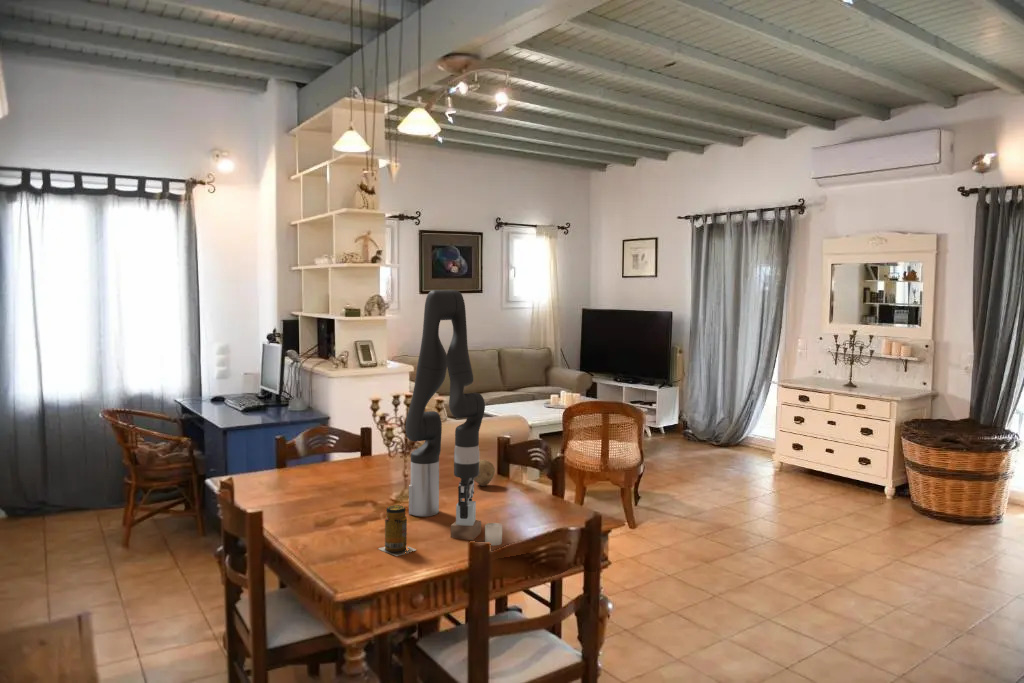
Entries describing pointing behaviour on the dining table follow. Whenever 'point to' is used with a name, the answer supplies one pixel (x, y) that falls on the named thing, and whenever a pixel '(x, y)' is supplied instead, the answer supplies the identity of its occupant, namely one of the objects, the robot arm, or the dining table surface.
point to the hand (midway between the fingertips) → (466, 514)
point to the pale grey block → (471, 514)
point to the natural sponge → (485, 472)
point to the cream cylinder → (493, 533)
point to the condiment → (396, 531)
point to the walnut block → (466, 531)
